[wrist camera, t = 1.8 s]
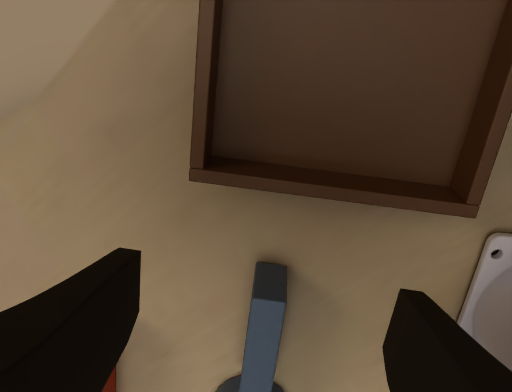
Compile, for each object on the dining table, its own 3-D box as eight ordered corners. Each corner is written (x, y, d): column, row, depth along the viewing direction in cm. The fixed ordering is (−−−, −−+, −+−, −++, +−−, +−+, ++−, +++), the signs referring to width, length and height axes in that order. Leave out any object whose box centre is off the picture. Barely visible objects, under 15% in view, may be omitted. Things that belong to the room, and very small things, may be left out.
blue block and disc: (229, 257, 23) (220, 294, 20) (314, 269, 23) (317, 307, 20) (211, 423, 28) (202, 473, 25) (282, 433, 28) (281, 484, 25)
